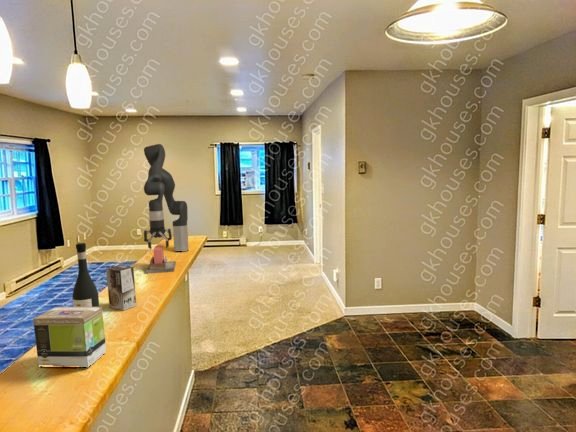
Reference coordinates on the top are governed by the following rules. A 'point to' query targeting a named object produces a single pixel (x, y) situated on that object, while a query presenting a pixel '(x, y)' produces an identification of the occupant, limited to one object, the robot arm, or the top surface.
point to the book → (158, 254)
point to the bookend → (167, 263)
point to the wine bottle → (84, 282)
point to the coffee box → (121, 287)
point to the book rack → (159, 267)
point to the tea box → (70, 336)
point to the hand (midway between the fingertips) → (158, 248)
